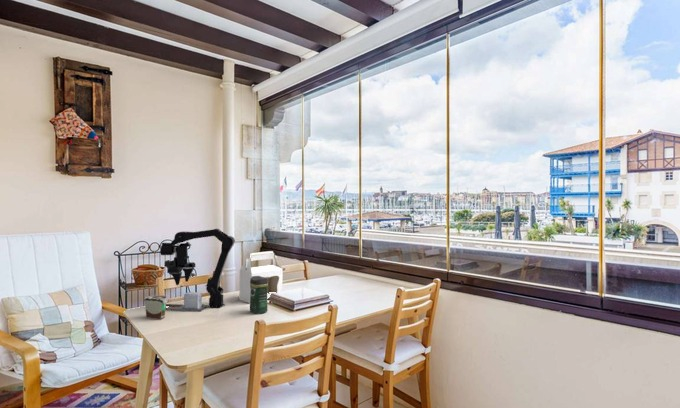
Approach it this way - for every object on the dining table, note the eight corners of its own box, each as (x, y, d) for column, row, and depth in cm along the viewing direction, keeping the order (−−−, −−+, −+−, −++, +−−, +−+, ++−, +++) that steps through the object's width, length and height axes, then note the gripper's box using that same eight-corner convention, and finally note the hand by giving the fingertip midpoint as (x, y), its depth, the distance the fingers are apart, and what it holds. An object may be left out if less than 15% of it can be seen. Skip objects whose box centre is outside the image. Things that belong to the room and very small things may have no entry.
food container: (173, 316, 181) (173, 296, 181) (163, 320, 175) (163, 299, 175) (153, 313, 185) (154, 294, 185) (143, 317, 179) (144, 297, 179)
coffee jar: (269, 312, 190) (270, 276, 190) (256, 315, 185) (256, 278, 185) (260, 308, 197) (261, 274, 197) (247, 311, 192) (247, 275, 192)
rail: (207, 307, 198) (207, 305, 198) (200, 311, 190) (200, 309, 190) (164, 306, 200) (164, 303, 200) (156, 310, 192) (156, 307, 192)
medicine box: (201, 308, 196) (202, 292, 196) (197, 310, 191) (198, 294, 192) (187, 307, 197) (188, 291, 197) (183, 310, 192) (183, 293, 192)
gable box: (250, 304, 206) (251, 254, 206) (238, 299, 215) (239, 252, 215) (282, 297, 222) (283, 251, 222) (270, 293, 231) (270, 249, 231)
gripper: (177, 252, 208) (177, 279, 208) (157, 257, 190) (157, 287, 190) (195, 252, 207) (196, 279, 207) (177, 257, 189) (178, 287, 189)
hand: (182, 283), depth 198 cm, fingers open, 9 cm apart
